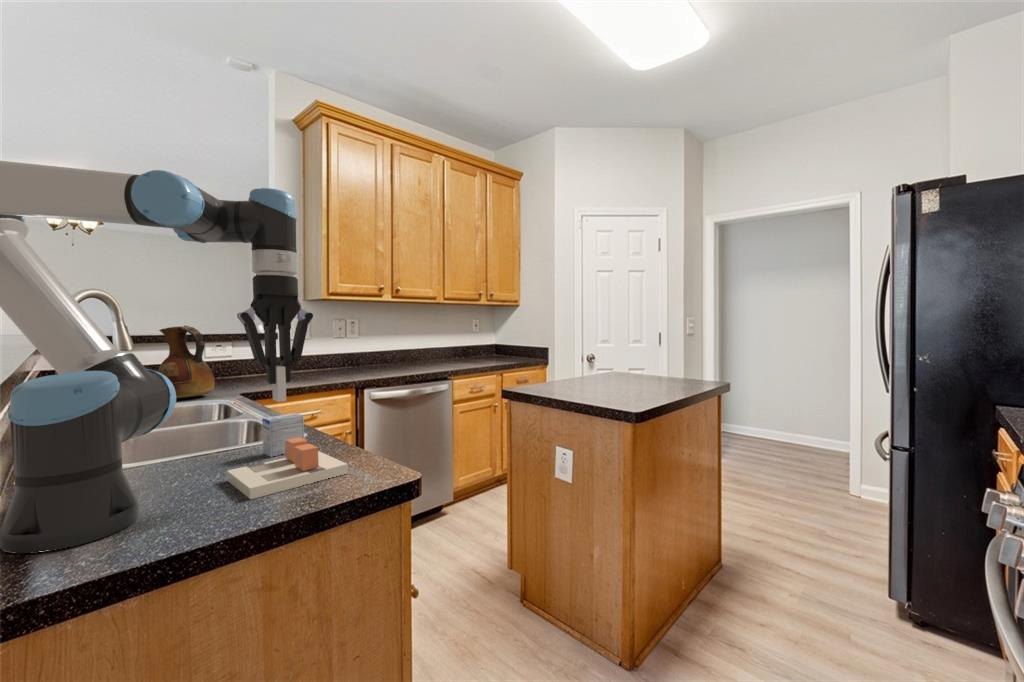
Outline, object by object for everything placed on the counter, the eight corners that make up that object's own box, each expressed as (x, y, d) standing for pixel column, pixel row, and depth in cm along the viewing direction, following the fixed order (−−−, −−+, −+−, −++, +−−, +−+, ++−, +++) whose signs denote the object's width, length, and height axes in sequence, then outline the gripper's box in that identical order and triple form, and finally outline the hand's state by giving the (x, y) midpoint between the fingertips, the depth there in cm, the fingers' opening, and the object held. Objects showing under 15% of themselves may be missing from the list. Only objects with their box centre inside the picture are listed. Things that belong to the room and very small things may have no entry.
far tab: (293, 462, 93) (292, 443, 93) (285, 458, 96) (285, 439, 96) (307, 459, 96) (307, 440, 95) (300, 455, 98) (299, 436, 98)
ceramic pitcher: (178, 394, 197) (175, 325, 196) (225, 393, 198) (222, 324, 196) (143, 402, 177) (139, 326, 176) (195, 402, 178) (192, 325, 177)
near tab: (303, 471, 88) (302, 450, 88) (294, 466, 91) (294, 446, 91) (318, 467, 90) (318, 447, 90) (310, 463, 93) (309, 443, 93)
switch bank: (250, 499, 80) (250, 487, 80) (227, 480, 90) (226, 470, 90) (347, 473, 93) (347, 463, 93) (318, 459, 103) (318, 450, 103)
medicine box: (296, 447, 113) (295, 412, 113) (305, 450, 110) (304, 414, 110) (262, 454, 107) (261, 418, 107) (271, 458, 104) (269, 420, 104)
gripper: (242, 271, 78) (247, 408, 79) (318, 276, 87) (322, 398, 89) (230, 274, 83) (234, 402, 84) (303, 278, 93) (306, 394, 94)
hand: (279, 400), depth 86 cm, fingers closed
